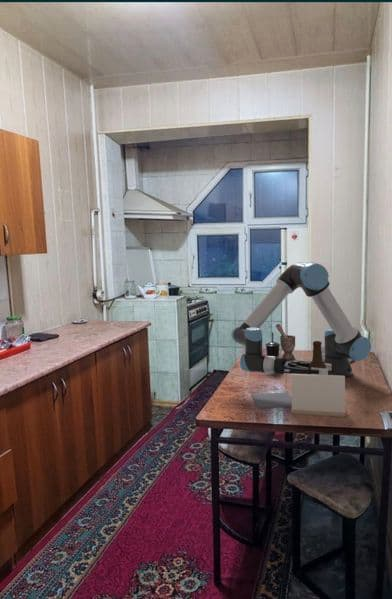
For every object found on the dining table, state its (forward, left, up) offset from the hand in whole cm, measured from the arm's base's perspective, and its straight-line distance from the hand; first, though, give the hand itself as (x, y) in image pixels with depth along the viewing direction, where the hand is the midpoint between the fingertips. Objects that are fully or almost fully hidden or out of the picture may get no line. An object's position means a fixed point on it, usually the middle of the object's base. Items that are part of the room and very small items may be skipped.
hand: (329, 369), depth 188 cm
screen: (+8, +10, -14) cm, 19 cm away
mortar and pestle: (0, -77, -14) cm, 79 cm away
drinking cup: (+12, -54, -14) cm, 58 cm away
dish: (-26, -72, -15) cm, 78 cm away
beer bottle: (+4, -2, -13) cm, 14 cm away
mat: (+22, -5, -14) cm, 27 cm away
